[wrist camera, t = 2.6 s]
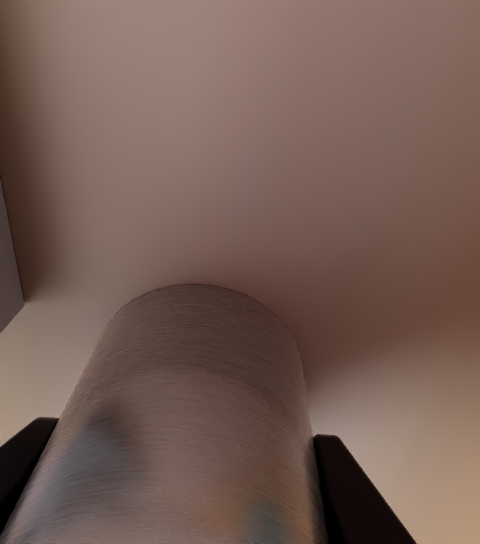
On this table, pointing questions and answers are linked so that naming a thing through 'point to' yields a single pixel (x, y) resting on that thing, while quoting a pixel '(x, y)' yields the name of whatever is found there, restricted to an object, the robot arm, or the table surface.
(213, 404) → the cylinder
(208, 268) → the table surface
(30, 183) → the table surface
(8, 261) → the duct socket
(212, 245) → the table surface
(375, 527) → the robot arm
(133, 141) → the table surface
